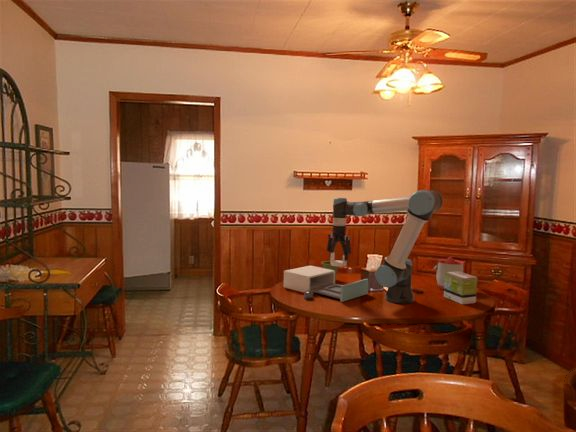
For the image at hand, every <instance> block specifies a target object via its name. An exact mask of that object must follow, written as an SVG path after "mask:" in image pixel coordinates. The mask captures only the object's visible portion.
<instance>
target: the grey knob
mask: <svg viewBox="0 0 576 432" xmlns="http://www.w3.org/2000/svg"><path fill="white" fill-rule="evenodd" d="M303 299H305V300H306V301H307V300H313V299H314V293H313V292H312V291H305V292H303Z"/></svg>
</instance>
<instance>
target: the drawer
mask: <svg viewBox="0 0 576 432" xmlns="http://www.w3.org/2000/svg"><path fill="white" fill-rule="evenodd" d="M310 291H312V292H314V293H316V294H320V295H324V296H327V297H330V298H331V297H332V298H335V299H339V300H340V302H341V303H343V302H346V301H350V300H352V299H353V300H354V299H355V298H359V297H362V296H364V295H368V294H369V278H363V279H360V280H356V281H353V282H349V283H347V284H346V283H345V284H338V283H336V282H335V283H332V284H328V285H324V286H320V287H316V288H313V289H310Z"/></svg>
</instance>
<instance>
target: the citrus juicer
mask: <svg viewBox="0 0 576 432" xmlns="http://www.w3.org/2000/svg"><path fill="white" fill-rule="evenodd" d="M464 264H465V262H464V261H463V260H457V259H454V258H453V257H452V256H448V258H439V259H438V260H437V264H436V265H434V267H433V269H434V270H435V269H436V281H437V286H438V288H439V289H441V290H442V291H444V284H445V272H456V271H459V272H462V273H464Z"/></svg>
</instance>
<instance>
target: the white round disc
mask: <svg viewBox="0 0 576 432" xmlns="http://www.w3.org/2000/svg"><path fill="white" fill-rule="evenodd" d="M331 265H332V266H336V267H338V268H339V267H344V266H343V260H334V261H331Z"/></svg>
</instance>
